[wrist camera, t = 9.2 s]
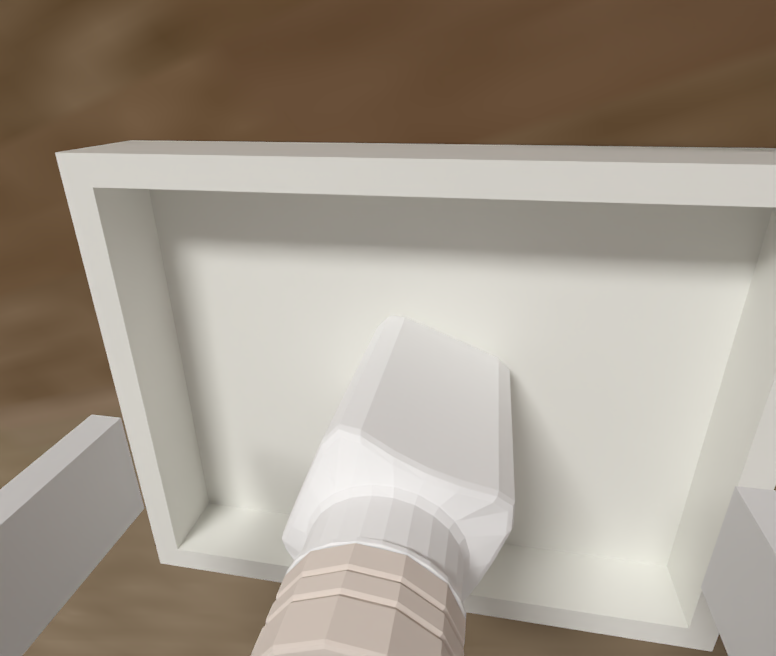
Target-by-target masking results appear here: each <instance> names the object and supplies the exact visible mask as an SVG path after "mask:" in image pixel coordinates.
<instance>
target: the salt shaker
mask: <svg viewBox="0 0 776 656" xmlns="http://www.w3.org/2000/svg"><path fill="white" fill-rule="evenodd" d="M514 510H515V487H514V463H513V439H512V415H511V391H510V370H509V369H508V368H507V366H506V365H505V364H504V363H502V362H501V361H500V360H499V359H498V358H497V357H495V356H493V355H490V354H488V353H486V352H484V351H481V350H479V349H477V348H474V347H472V346H470V345H468V344H465V343H463V342H461V341H459V340H456V339H454V338H452V337H449V336H447V335H445V334H443V333H440V332H438V331H436V330H434V329H431V328H429V327H427V326H424V325H422V324H420V323H418V322H415V321H413V320H411V319H409V318H406V317H401V316H393V315H392V316H390V317H388V318H387V319H386V320H385V321H383V322H382V323H381V324H380V325H379V326H378V327H377V329H376V331H375V333H374V335H373V337H372V339H371V341H370V343H369V345H368V347H367V349H366V351H365V353H364V355H363V357H362V359H361V361H360V363H359V365H358V368H357V370H356V372H355V374H354V376H353V378H352V380H351V382H350V384H349V386H348V388H347V390H346V392H345V394H344V396H343V398H342V400H341V402H340V404H339V406H338V408H337V410H336V412H335V414H334V416H333V418H332V420H331V422H330V425H329V427H328V429H327V431H326V433H325V435H324V437H323V439H322V441H321V443H320V446H319V448H318V450H317V453H316V455H315V457H314V460H313V462H312V464H311V466H310V469H309V471H308V473H307V476H306V478H305V481H304V483H303V485H302V488H301V490H300V492H299V495H298V497H297V499H296V502H295V504H294V507H293V509H292V512H291V514H290V516H289V519H288V521H287V524H286V527H285V529H284V532H283V535H282V540H283V543H284V545H285V548H286V550H287V551H288V553H289V554H290V555H291V557H292V558H293V559H294V561H293V563H292V564H291V566H290V567H289V568H288V570H287V572H286V575H285V577H284V579H283V581H282V584H281V586H280V588H279V591H278V593H277V595H276V601H275V602H274V603H273V605H272V607H271V609H270V612H269V614H268V616H267V619H266V625H265V626H264V627H263V628H262V630H261V633H260V635H259V637H258V639H257V642H256V644H255V646H254V649H253V651H252V653H251V656H464V650H463V647H464V643H465V627H466V611H465V608H464V604H463V602H464V601H465V600H466V599H467V597H468V596H469V595H470V594H471V592H472V591H473V590H474V589H475V587H476V586H477V585H478V584H479V582H480V581H481V579H482V578H483V576H484V575H485V573H486V572H487V570H488V569H489V567H490V566H491V564H492V563H493V561H494V560H495V558H496V556H497V555H498V553H499V551H500V549H501V548H502V546H503V544H504V542H505V541H506V539H507V537H508V535H509V534H510V532H511V530H512V527H513V524H514Z"/></svg>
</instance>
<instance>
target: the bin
mask: <svg viewBox="0 0 776 656" xmlns="http://www.w3.org/2000/svg"><path fill="white" fill-rule="evenodd" d="M55 154H56V158H57V162H58V166H59V170H60V174H61V178H62V182H63V186H64V189H65V193H66V197H67V201H68V205H69V209H70V213H71V217H72V221H73V224H74V228H75V232H76V236H77V240H78V244H79V248H80V252H81V256H82V260H83V263H84V267H85V271H86V275H87V279H88V283H89V287H90V291H91V295H92V298H93V302H94V306H95V310H96V314H97V318H98V322H99V326H100V330H101V334H102V337H103V341H104V345H105V349H106V353H107V357H108V361H109V365H110V369H111V372H112V376H113V380H114V384H115V388H116V392H117V396H118V400H119V404H120V407H121V411H122V415H123V419H124V423H125V427H126V431H127V435H128V439H129V443H130V446H131V450H132V454H133V458H134V462H135V466H136V470H137V474H138V478H139V481H140V485H141V489H142V493H143V497H144V501H145V505H146V509H147V513H148V516H149V520H150V524H151V528H152V532H153V536H154V540H155V544H156V548H157V552H158V555H159V559H160V563H163V564H169V565H175V566H182V567H188V568H194V569H200V570H207V571H213V572H219V573H225V574H231V575H238V576H244V577H250V578H256V579H263V580H269V581H275V582H281V583H282V581H283V579H284V577H285V575H286V572H287V570H288V568H289V567H290V566H291V564H292V563H293V561H294V559H293V558H292V557H291V555H290V554H289V553H288V551H287V550H286V548H285V545H284V543H283V540H282V535H283V532H284V529H285V527H286V524H287V521H288V519H289V516H290V514H291V512H292V509H293V507H294V504H295V502H296V499H297V497H298V495H299V492H300V490H301V488H302V485H303V483H304V481H305V478H306V476H307V473H308V471H309V469H310V466H311V464H312V462H313V460H314V457H315V455H316V453H317V450H318V448H319V446H320V443H321V441H322V439H323V437H324V435H325V433H326V431H327V429H328V427H329V425H330V422H331V420H332V418H333V416H334V414H335V412H336V410H337V408H338V406H339V404H340V402H341V400H342V398H343V396H344V394H345V392H346V390H347V388H348V386H349V384H350V382H351V380H352V378H353V376H354V374H355V372H356V370H357V368H358V365H359V363H360V361H361V359H362V357H363V355H364V353H365V351H366V349H367V347H368V345H369V343H370V341H371V339H372V337H373V335H374V333H375V331H376V329H377V327H378V326H379V325H380V324H381V323H382V322H383V321H385V320H386V319H387V318H388V317H390V316H392V315H393V316H401V317H406V318H409V319H411V320H413V321H415V322H418V323H420V324H422V325H424V326H427V327H429V328H431V329H434V330H436V331H438V332H440V333H443V334H445V335H447V336H449V337H452V338H454V339H456V340H459V341H461V342H463V343H465V344H468V345H470V346H472V347H474V348H477V349H479V350H481V351H484V352H486V353H488V354H490V355H493V356H495V357H497V358H498V359H499V360H500V361H501V362H502V363H504V364H505V365H506V366H507V368H508V369H509V370H510V391H511V415H512V439H513V463H514V487H515V510H514V524H513V527H512V530H511V532H510V534H509V535H508V537H507V539H506V541H505V542H504V544H503V546H502V548H501V549H500V551H499V553H498V555H497V556H496V558H495V560H494V561H493V563H492V564H491V566H490V567H489V569H488V570H487V572H486V573H485V575H484V576H483V578H482V579H481V581H480V582H479V584H478V585H477V586H476V587H475V589H474V590H473V591H472V592H471V594H470V595H469V596H468V597H467V599H466V600H465V601H464V602H463V604H464V608H465V611H466V612H468V613H475V614H481V615H487V616H493V617H499V618H506V619H512V620H518V621H524V622H531V623H537V624H543V625H549V626H556V627H562V628H568V629H574V630H580V631H587V632H593V633H599V634H605V635H612V636H618V637H624V638H630V639H637V640H643V641H649V642H655V643H661V644H668V645H674V646H680V647H686V648H693V649H699V650H705V651H711V652H712V651H713V648H714V646H715V643H716V640H717V638H718V635H719V632H718V629H717V627H716V624H715V622H714V619H713V617H712V614H711V612H710V609H709V607H708V604H707V602H706V599H705V597H704V594H703V592H702V589H701V585H702V582H703V579H704V576H705V574H706V571H707V568H708V565H709V562H710V559H711V556H712V553H713V550H714V547H715V544H716V541H717V538H718V535H719V532H720V529H721V527H722V524H723V521H724V518H725V515H726V512H727V509H728V506H729V503H730V500H731V497H732V494H733V491H734V488H735V486H739V487H748V488H757V489H766V490H774V488H775V485H776V148H715V147H634V146H553V145H472V144H390V143H309V142H228V141H147V140H131V141H124V142H118V143H112V144H106V145H99V146H93V147H87V148H80V149H74V150H68V151H62V152H55Z"/></svg>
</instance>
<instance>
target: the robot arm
mask: <svg viewBox="0 0 776 656" xmlns="http://www.w3.org/2000/svg"><path fill="white" fill-rule="evenodd" d="M143 509H144V506H143V502H142V498H141V494H140V490H139V486H138V482H137V479H136V475H135V471H134V467H133V463H132V459H131V455H130V452H129V448H128V444H127V440H126V436H125V432H124V428H123V425H122V421H121V418H118V417H109V416H100V415H91V416H89V417H88V418H87V419H86V420H84V421H83V422H82V423H81V424H80V425H78V426H77V427H76V428H75V429H73V430H72V431H71V432H70V433H69V434H67V435H66V436H65V437H64V438H62V439H61V440H60V441H59V442H58V443H56V444H55V445H54V446H53V447H51V448H50V449H49V450H48V451H47V452H45V453H44V454H43V455H42V456H40V457H39V458H38V459H37V460H36V461H34V462H33V463H32V464H31V465H29V466H28V467H27V468H26V469H25V470H23V471H22V472H21V473H20V474H18V475H17V476H16V477H15V478H14V479H12V480H11V481H10V482H9V483H8V484H6V485H5V486H4V487H3V488H1V489H0V656H22V655H23V654H24V653H25V652H26V650H27V649H28V648H29V647H30V646H31V644H32V643H33V642H34V641H35V640H36V638H37V637H38V636H39V635H40V633H41V632H42V631H43V630H44V629H45V627H46V626H47V625H48V624H49V623H50V621H51V620H52V619H53V618H54V617H55V615H56V614H57V613H58V612H59V611H60V609H61V608H62V607H63V606H64V605H65V603H66V602H67V601H68V600H69V599H70V597H71V596H72V595H73V594H74V592H75V591H76V590H77V589H78V588H79V586H80V585H81V584H82V583H83V582H84V580H85V579H86V578H87V577H88V576H89V574H90V573H91V572H92V571H93V570H94V568H95V567H96V566H97V565H98V564H99V562H100V561H101V560H102V559H103V557H104V556H105V555H106V554H107V553H108V551H109V550H110V549H111V548H112V547H113V545H114V544H115V543H116V542H117V541H118V539H119V538H120V537H121V536H122V535H123V533H124V532H125V531H126V530H127V529H128V527H129V526H130V525H131V524H132V523H133V521H134V520H135V519H136V518H137V516H138V515H139V514H140V513H141V512H142V510H143ZM701 589H702V592H703V594H704V597H705V599H706V602H707V604H708V607H709V609H710V612H711V614H712V617H713V619H714V622H715V624H716V627H717V629H718V632H719V634H720V636H721V639H722V641H723V644H724V646H725V649H726V651H727V654H728V656H776V491H775V490H766V489H757V488H748V487H739V486H735V488H734V491H733V494H732V497H731V500H730V503H729V506H728V509H727V512H726V515H725V518H724V521H723V524H722V527H721V529H720V532H719V535H718V538H717V541H716V544H715V547H714V550H713V553H712V556H711V559H710V562H709V565H708V568H707V571H706V574H705V576H704V579H703V582H702V585H701Z"/></svg>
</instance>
